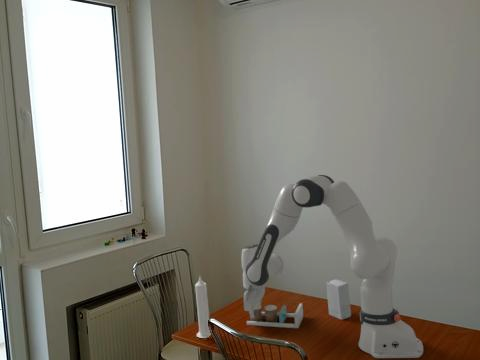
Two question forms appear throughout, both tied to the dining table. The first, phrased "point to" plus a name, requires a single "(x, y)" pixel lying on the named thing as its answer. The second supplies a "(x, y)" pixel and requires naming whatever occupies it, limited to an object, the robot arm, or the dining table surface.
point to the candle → (202, 309)
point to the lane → (298, 319)
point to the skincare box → (338, 299)
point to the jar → (257, 314)
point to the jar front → (271, 313)
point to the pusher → (282, 314)
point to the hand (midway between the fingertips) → (255, 312)
